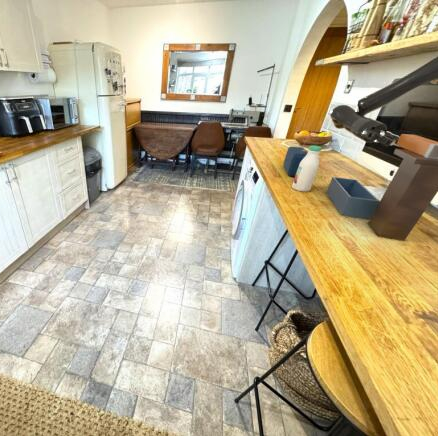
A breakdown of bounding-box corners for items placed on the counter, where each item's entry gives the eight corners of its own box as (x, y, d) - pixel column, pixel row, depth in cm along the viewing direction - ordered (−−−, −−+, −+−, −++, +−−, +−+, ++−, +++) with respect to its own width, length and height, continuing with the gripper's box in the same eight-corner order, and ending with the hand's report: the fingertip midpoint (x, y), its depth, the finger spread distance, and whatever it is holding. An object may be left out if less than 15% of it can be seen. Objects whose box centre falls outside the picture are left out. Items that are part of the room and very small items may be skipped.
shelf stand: (391, 223, 87) (435, 152, 74) (410, 242, 77) (465, 163, 64) (359, 218, 90) (395, 148, 77) (372, 235, 80) (417, 159, 67)
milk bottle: (313, 189, 114) (329, 147, 104) (304, 193, 110) (321, 149, 100) (296, 184, 119) (310, 143, 109) (288, 187, 115) (302, 145, 105)
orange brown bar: (395, 144, 83) (401, 133, 81) (409, 145, 82) (415, 134, 80) (426, 158, 68) (434, 144, 66) (443, 159, 67) (452, 146, 65)
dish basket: (349, 195, 108) (356, 179, 104) (370, 219, 89) (380, 201, 86) (325, 192, 111) (332, 176, 107) (341, 215, 92) (349, 197, 88)
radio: (305, 179, 126) (320, 140, 116) (287, 177, 128) (299, 138, 118) (297, 167, 143) (309, 132, 133) (281, 165, 145) (292, 131, 135)
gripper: (358, 116, 92) (392, 131, 80) (390, 123, 94) (427, 139, 81) (345, 135, 97) (374, 152, 84) (375, 141, 99) (408, 159, 86)
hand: (400, 145), depth 83 cm, fingers open, 8 cm apart
